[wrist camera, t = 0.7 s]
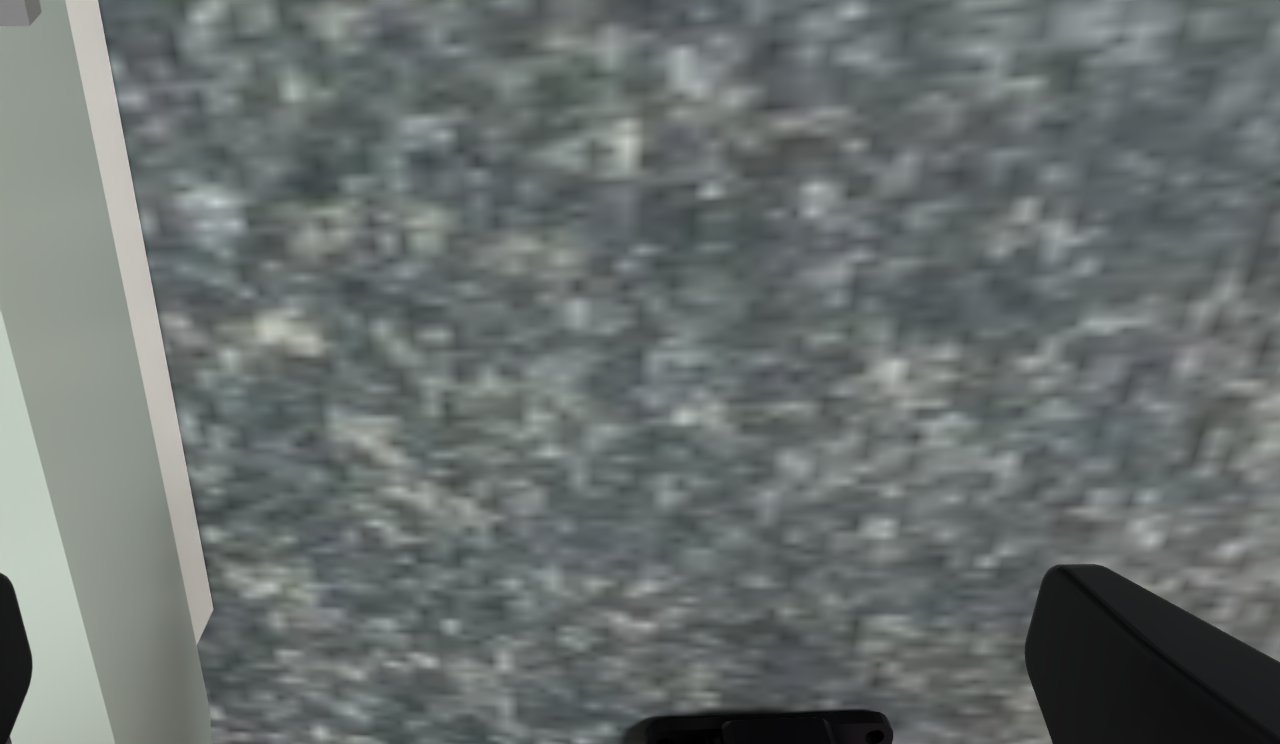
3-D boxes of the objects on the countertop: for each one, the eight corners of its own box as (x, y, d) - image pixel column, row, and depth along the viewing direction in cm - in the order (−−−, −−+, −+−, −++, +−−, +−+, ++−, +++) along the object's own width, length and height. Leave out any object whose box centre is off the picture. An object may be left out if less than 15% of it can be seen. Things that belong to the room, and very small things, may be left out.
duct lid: (167, 721, 20) (241, 702, 21) (165, 1215, 13) (280, 1168, 13) (-133, -582, 11) (8, -557, 12) (-685, -1399, 4) (-252, -1239, 5)
